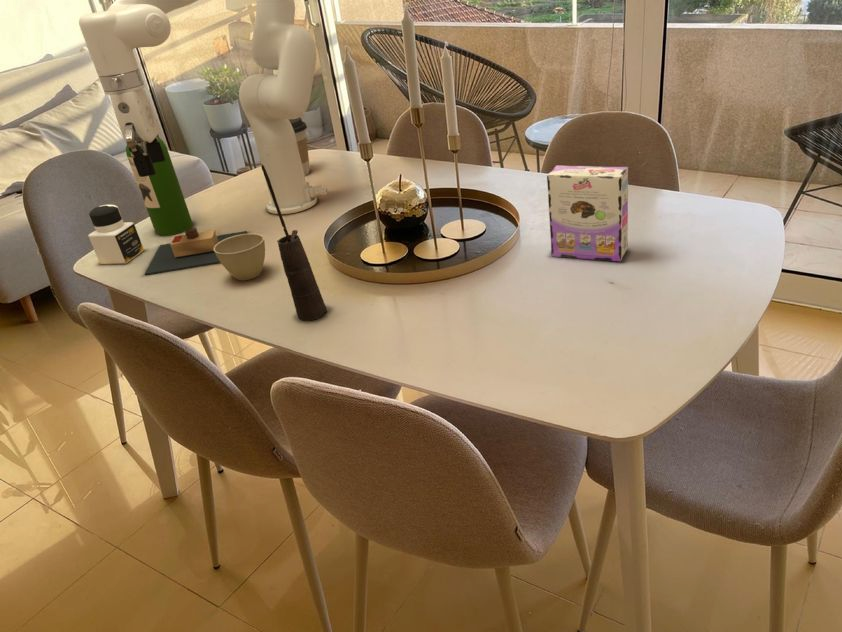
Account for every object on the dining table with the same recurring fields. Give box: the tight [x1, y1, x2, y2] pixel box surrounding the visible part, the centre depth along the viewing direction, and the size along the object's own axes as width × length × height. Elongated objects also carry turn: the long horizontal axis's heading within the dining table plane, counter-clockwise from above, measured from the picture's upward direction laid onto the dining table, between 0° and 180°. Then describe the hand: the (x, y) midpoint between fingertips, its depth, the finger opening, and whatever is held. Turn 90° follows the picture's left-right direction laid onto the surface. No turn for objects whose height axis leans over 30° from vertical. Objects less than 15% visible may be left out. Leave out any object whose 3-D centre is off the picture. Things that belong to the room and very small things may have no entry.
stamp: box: [169, 226, 219, 258], centre depth 154 cm, size 9×5×5 cm, turn 99°
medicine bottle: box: [87, 204, 145, 265], centre depth 155 cm, size 7×7×12 cm
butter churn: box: [261, 164, 328, 322], centre depth 118 cm, size 9×10×28 cm
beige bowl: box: [214, 233, 266, 281], centre depth 141 cm, size 10×10×7 cm
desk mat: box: [144, 230, 248, 276], centre depth 156 cm, size 20×16×1 cm
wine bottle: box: [125, 136, 193, 237], centre depth 163 cm, size 9×9×32 cm
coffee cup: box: [289, 117, 311, 176], centre depth 195 cm, size 11×11×15 cm
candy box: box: [546, 165, 629, 262], centre depth 129 cm, size 14×6×16 cm, turn 65°
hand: (153, 168), depth 144 cm, fingers open, 9 cm apart
